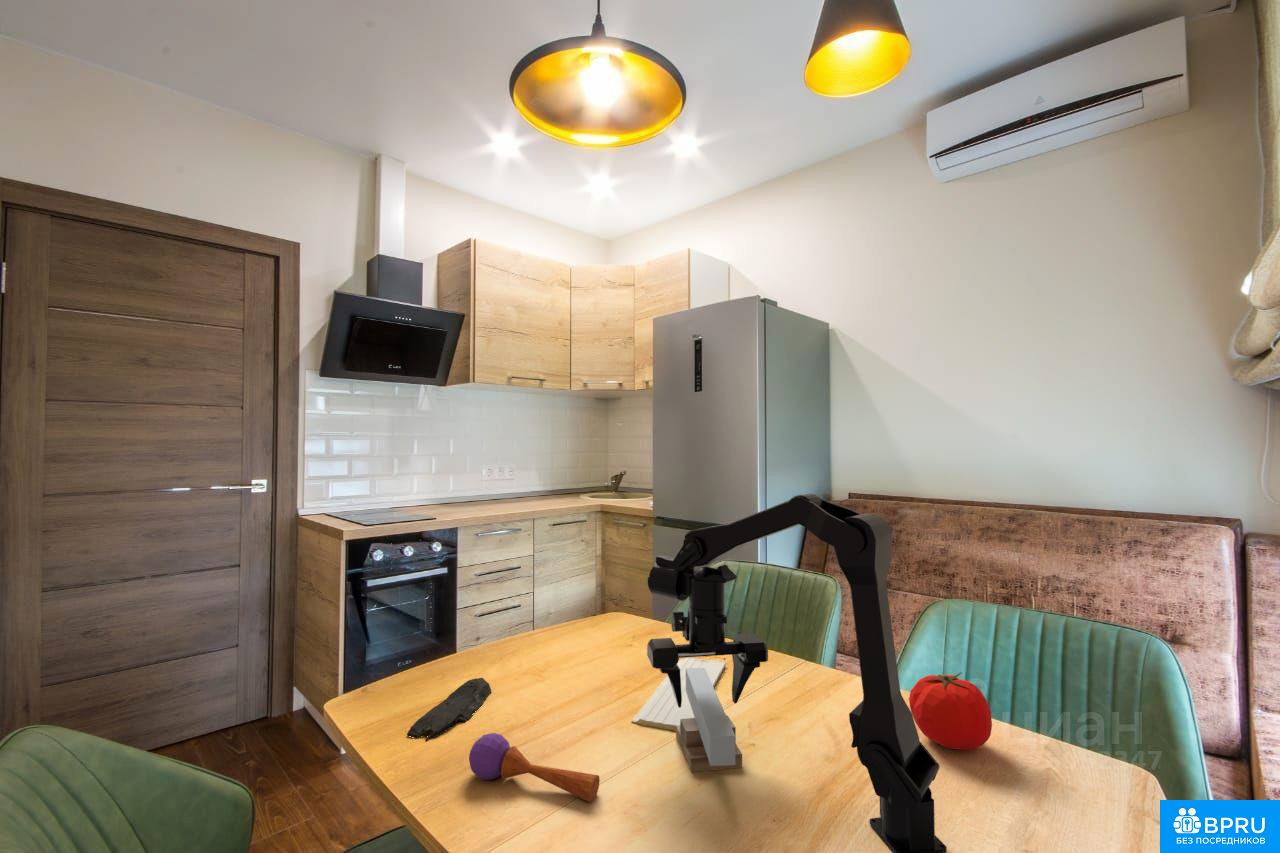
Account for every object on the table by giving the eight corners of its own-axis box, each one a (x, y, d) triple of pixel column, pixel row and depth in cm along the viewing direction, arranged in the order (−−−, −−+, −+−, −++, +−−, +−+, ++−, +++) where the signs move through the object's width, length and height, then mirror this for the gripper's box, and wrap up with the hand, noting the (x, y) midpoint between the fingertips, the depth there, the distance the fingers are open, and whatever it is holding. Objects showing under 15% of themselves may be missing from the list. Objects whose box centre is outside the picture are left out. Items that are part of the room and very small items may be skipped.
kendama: (585, 786, 74) (460, 746, 80) (585, 825, 75) (461, 783, 81) (603, 754, 79) (484, 720, 86) (603, 791, 80) (486, 754, 87)
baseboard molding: (624, 725, 99) (689, 737, 95) (624, 708, 99) (689, 719, 95) (674, 662, 128) (725, 669, 124) (674, 649, 128) (725, 655, 124)
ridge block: (742, 767, 85) (742, 737, 85) (691, 772, 83) (691, 741, 84) (722, 734, 95) (722, 707, 95) (676, 737, 93) (676, 710, 93)
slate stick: (735, 765, 77) (735, 735, 78) (710, 765, 77) (710, 736, 77) (704, 690, 101) (704, 667, 101) (685, 690, 101) (685, 668, 101)
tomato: (994, 740, 93) (992, 672, 93) (991, 773, 83) (989, 697, 84) (915, 720, 100) (914, 656, 100) (904, 748, 90) (903, 678, 90)
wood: (442, 746, 91) (442, 727, 91) (403, 740, 93) (403, 721, 93) (506, 690, 113) (506, 674, 113) (473, 685, 115) (473, 670, 115)
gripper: (744, 591, 99) (745, 679, 99) (641, 595, 96) (641, 686, 96) (769, 608, 88) (769, 709, 88) (653, 614, 85) (653, 717, 85)
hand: (707, 704), depth 89 cm, fingers open, 9 cm apart
